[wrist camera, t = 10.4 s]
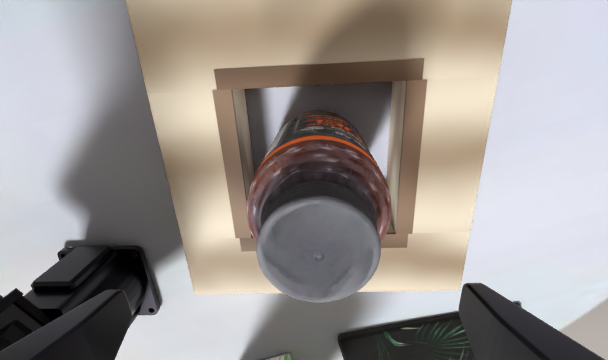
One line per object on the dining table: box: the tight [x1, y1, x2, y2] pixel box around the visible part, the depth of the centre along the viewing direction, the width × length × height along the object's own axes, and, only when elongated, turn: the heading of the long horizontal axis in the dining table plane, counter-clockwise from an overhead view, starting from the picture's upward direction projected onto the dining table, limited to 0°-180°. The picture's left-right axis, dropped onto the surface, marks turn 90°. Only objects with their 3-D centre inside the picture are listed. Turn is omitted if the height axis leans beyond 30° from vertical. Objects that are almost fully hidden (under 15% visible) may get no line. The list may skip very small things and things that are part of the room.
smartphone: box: [338, 303, 521, 360], centre depth 26 cm, size 7×1×15 cm
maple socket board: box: [125, 0, 512, 295], centre depth 18 cm, size 18×18×3 cm
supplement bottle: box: [246, 111, 392, 303], centre depth 15 cm, size 6×6×11 cm
